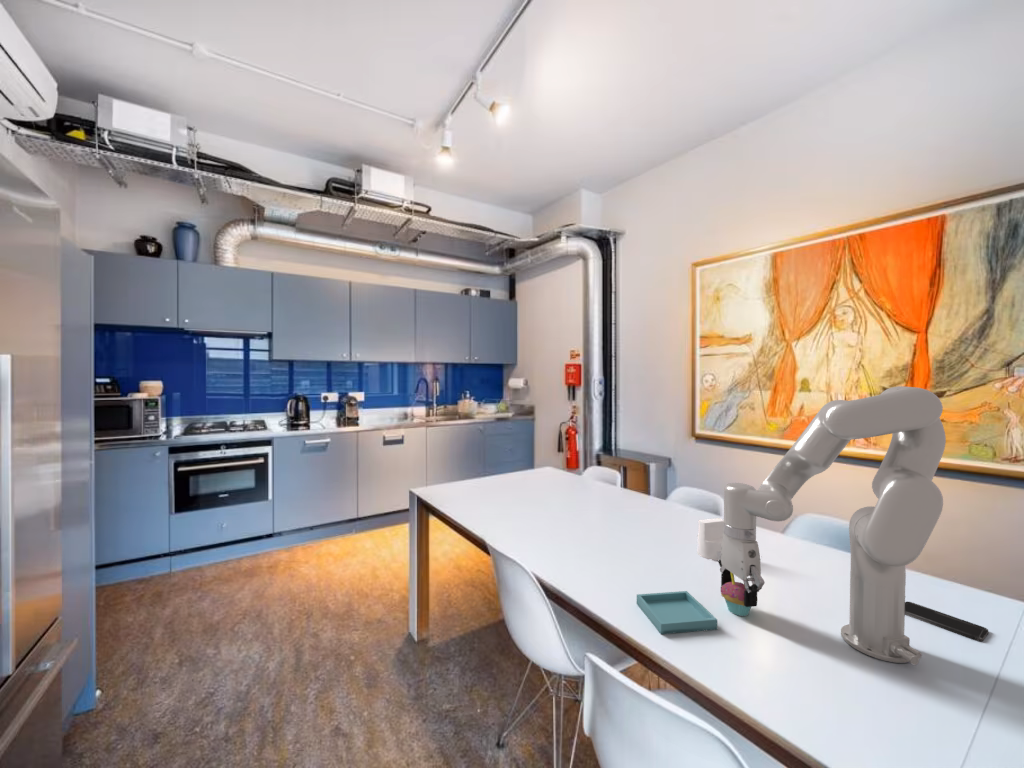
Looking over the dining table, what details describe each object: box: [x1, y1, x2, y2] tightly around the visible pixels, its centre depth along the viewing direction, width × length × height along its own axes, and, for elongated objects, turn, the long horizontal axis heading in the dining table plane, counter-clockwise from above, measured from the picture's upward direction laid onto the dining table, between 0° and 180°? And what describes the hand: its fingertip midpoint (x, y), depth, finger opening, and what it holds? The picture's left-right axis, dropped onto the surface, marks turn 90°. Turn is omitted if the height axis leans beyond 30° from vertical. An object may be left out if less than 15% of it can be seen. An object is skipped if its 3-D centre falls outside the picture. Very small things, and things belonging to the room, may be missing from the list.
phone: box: [905, 601, 989, 643], centre depth 105 cm, size 8×1×15 cm
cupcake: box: [720, 573, 759, 617], centre depth 110 cm, size 9×8×12 cm
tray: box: [636, 590, 718, 635], centre depth 107 cm, size 14×15×2 cm
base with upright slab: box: [696, 517, 724, 561], centre depth 144 cm, size 9×9×12 cm
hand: (738, 596), depth 110 cm, fingers open, 8 cm apart
